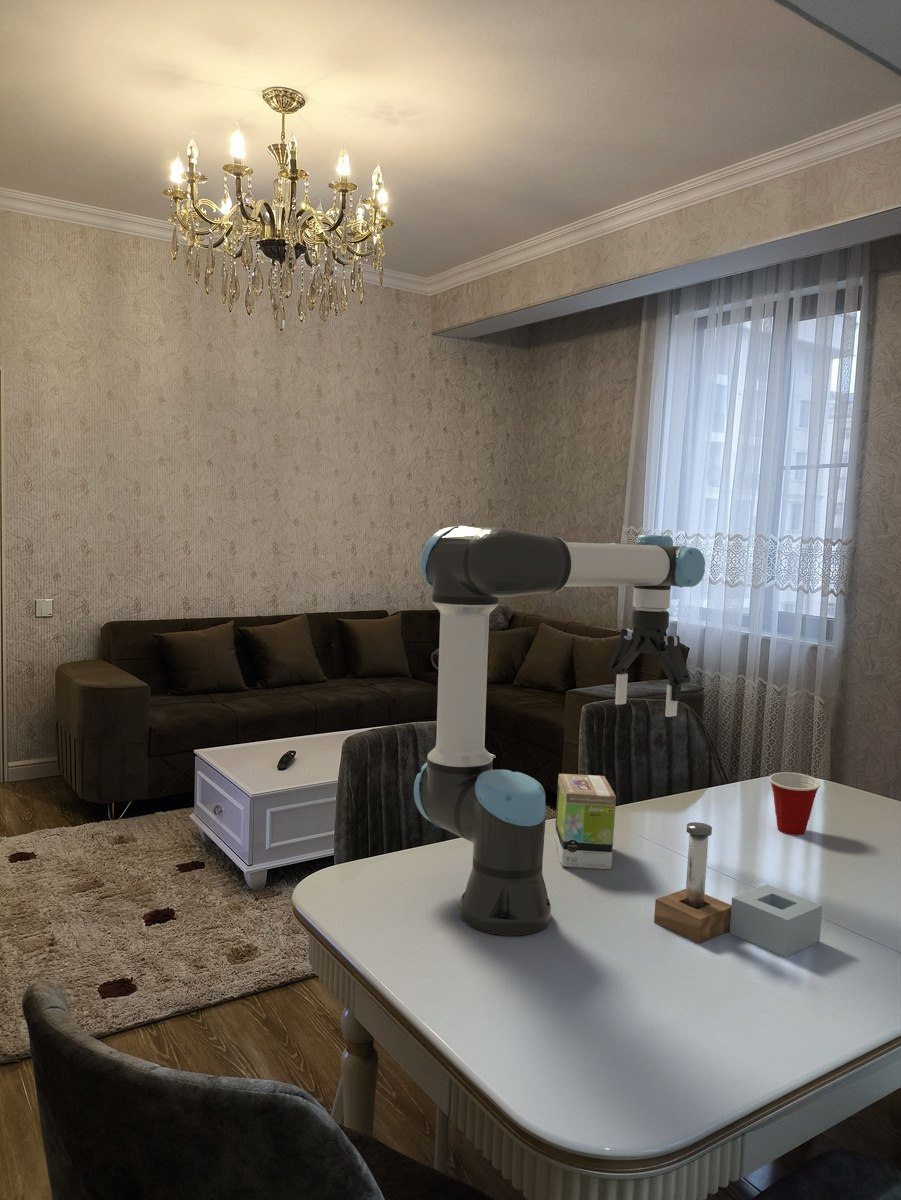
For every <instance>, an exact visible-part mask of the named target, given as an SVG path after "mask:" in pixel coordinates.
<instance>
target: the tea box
mask: <svg viewBox="0 0 901 1200" xmlns="http://www.w3.org/2000/svg"><path fill="white" fill-rule="evenodd" d="M556 796H557V797H556V807H555V809H556V812H555V814H556V815H555V828H554V842H555V846H556V850H557V853H558V856H559V857H558V858H559V860H560V864H561V867H564V868H565V867H567V868H576V869H577V868H578V869H580V868H581V869H595V870H597V869H598V870H610V869H611V868H612V863H613V862H612V861H613V846H614V834H615V832H614V831H615V819H616V804H617V796H616V794H615V791H614V790H613V788H612V786H611V784H610V783H609V781H608V780H607V778H606V776H605V775H592V774H590V775H589V774H575V773H573V774H572V773H559V774H558V779H557V794H556Z"/></svg>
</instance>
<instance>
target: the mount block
mask: <svg viewBox="0 0 901 1200" xmlns="http://www.w3.org/2000/svg"><path fill="white" fill-rule="evenodd" d="M685 897H686V888H683V889H680V890H678V891H676V892H673V893H669V894H666V895H664V896H661V897H658V898H655V901H654V917H653V923H654V924H657V925H659V926H661V927H663V928H665V929H667V930H669V931H672V932H674V933H676V934H677V935H680V936H682V937H684V938H686V939H689V940H691V941H693V942H695V943H697V944H701V943H703V942H705V941H709V940H711V939H714V938H715V937H718V936H720V935H723V934H725V933H727V932H730V921H731V906H732V904H730V903H727V902H725V901H722V900H720V899H718V898H715V897H713V896H710V895H707V894H706V893H705V895H704V907H702V908H700V909H695V908H692V907H690V906H688V905H685Z"/></svg>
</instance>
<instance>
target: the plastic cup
mask: <svg viewBox="0 0 901 1200" xmlns="http://www.w3.org/2000/svg"><path fill="white" fill-rule="evenodd" d="M768 780H769V782H770V784H771V788H772V792H773V803H774V804H773V805H774V811H775V812H774V813H775V817H776V826H777V830H778V831H779V832H781V833H782V834H786V835H792V836H803V835H805V834H806V831H807V829H808V828H807V827H808V823H809V821H810V817H811V814H812V808H813V805H814V801H815V798H816V796H817V795H816V794H817V792H818V789H819V788H820V787H821V784H822V781H820V780H819V779H818V778H816V777H813V776H811V775H807V774H804V773H799V772H787V771H786V772H783V771H782V772H776V773H772V774H771V775H769V776H768Z"/></svg>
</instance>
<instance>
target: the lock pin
mask: <svg viewBox="0 0 901 1200" xmlns="http://www.w3.org/2000/svg"><path fill="white" fill-rule="evenodd" d="M686 833H687V834H689V837H688V851H687V865H686V866H687V868H686V869H687V870H686V880H685V881H686V885H685V889H686V897H685V905H688V906H690V907H692V908H695V909H700V908H702V907H704V895H705V894H706V893H705V892H706V890H705V889H706V877H707V864H708V863H707V860H708V859H707V858H708V847H709V846H708V845H709V837H710V836H712V834H713V827H712V825H710V824H707V823H703V822H699V821H698V822H695V821H694V822H693V821H692V822H688V823H686Z"/></svg>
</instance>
